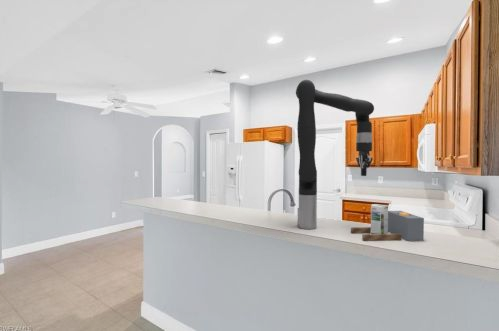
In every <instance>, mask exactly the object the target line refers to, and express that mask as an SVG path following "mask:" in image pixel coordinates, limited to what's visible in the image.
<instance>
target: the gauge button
mask: <svg viewBox="0 0 499 331" xmlns="http://www.w3.org/2000/svg"><path fill="white" fill-rule="evenodd" d="M409 214H410V213H409V212H406V211H403V212H399V215H402V216H405V215H409Z"/></svg>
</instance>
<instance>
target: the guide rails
mask: <svg viewBox="0 0 499 331" xmlns="http://www.w3.org/2000/svg"><path fill="white" fill-rule="evenodd" d="M350 233H351V234H362V241H363V242H378V241H381V242H382V241H385V242H386V241H402V235H401V234H392V233H388V234H371V226H366V227H365V226H363V227H361V226H360V227H358V226H357V227H354V226H353V227H350Z"/></svg>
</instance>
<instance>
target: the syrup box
mask: <svg viewBox="0 0 499 331" xmlns="http://www.w3.org/2000/svg"><path fill="white" fill-rule="evenodd" d="M388 211H389V205H388V204H377V203H374V204H373V203H372V204H370V227H371V233H370V234H389V232H388Z"/></svg>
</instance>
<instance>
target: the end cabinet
mask: <svg viewBox="0 0 499 331" xmlns="http://www.w3.org/2000/svg"><path fill="white" fill-rule="evenodd" d="M399 212H404V211H403V210H388V233H389V234H401V235H402V238H401V240H402V239H403V240H405V241H407V242H423V241H424V236H425V235H424V231H425V230H424V228H425V225H424V224H425V218H424V217H422V216H418V215H416V214H412V213H409V215H405V216H402V215H399Z"/></svg>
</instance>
